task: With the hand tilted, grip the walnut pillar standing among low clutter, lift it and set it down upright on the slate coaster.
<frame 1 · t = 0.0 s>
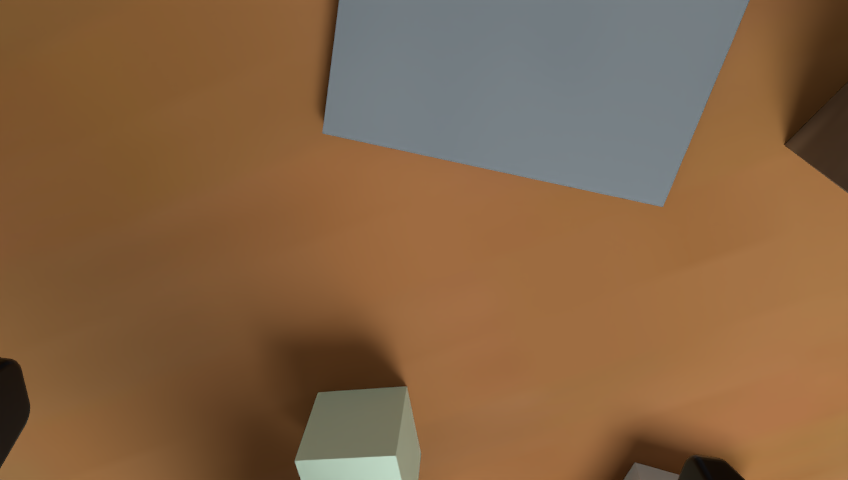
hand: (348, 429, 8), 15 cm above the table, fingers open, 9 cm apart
pale green cube: (370, 422, 28), on the table
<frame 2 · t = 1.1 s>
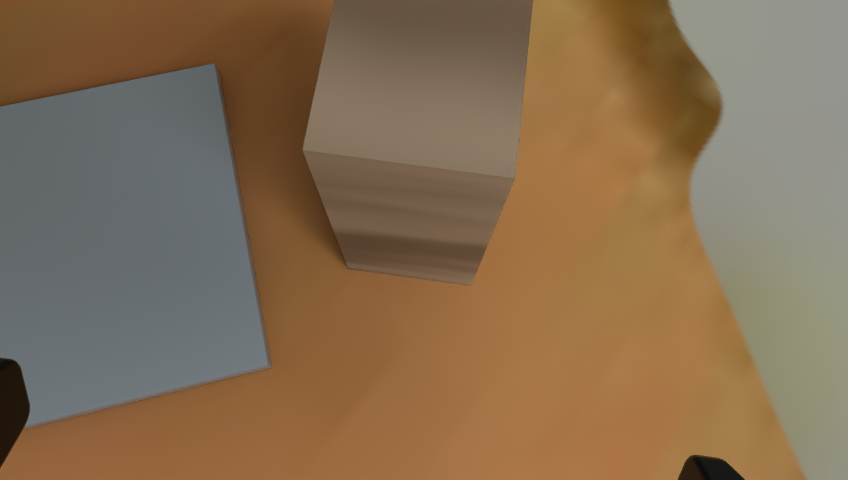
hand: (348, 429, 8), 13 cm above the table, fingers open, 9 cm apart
walnut pillar: (417, 219, 23), on the table
slate coaster: (79, 245, 23), on the table
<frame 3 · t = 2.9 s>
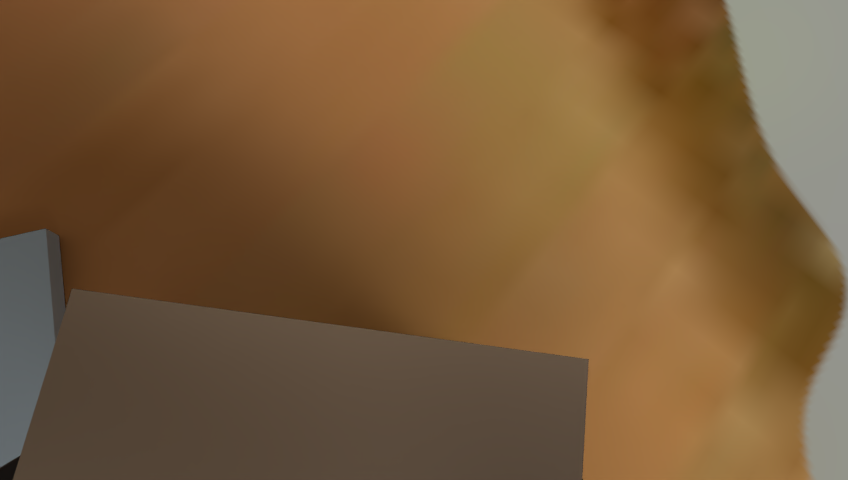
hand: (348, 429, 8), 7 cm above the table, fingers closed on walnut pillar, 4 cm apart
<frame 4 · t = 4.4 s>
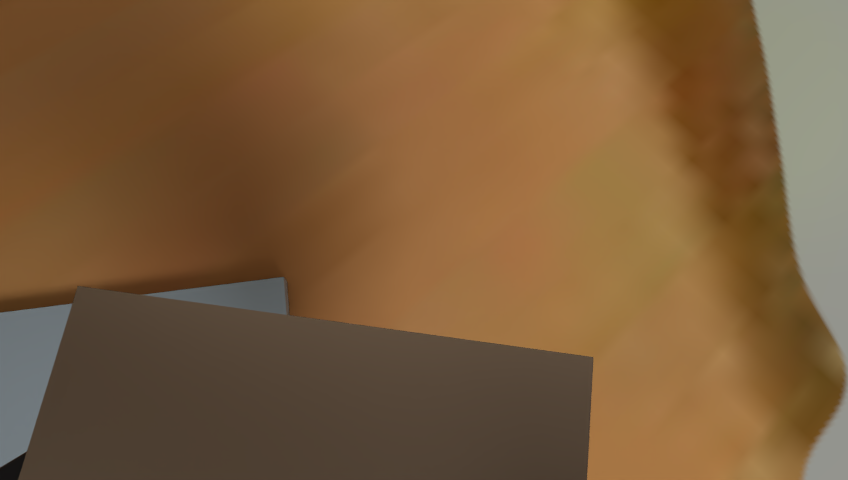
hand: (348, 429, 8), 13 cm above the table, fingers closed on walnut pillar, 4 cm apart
slate coaster: (117, 479, 20), on the table
when the fingers open (8 cm above the table, at t = 6.2 s): walnut pillar moves 1 cm, resting on slate coaster.
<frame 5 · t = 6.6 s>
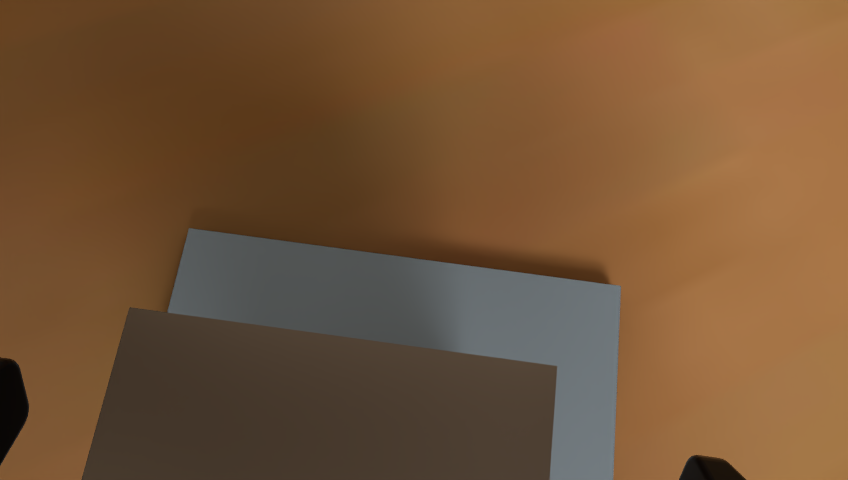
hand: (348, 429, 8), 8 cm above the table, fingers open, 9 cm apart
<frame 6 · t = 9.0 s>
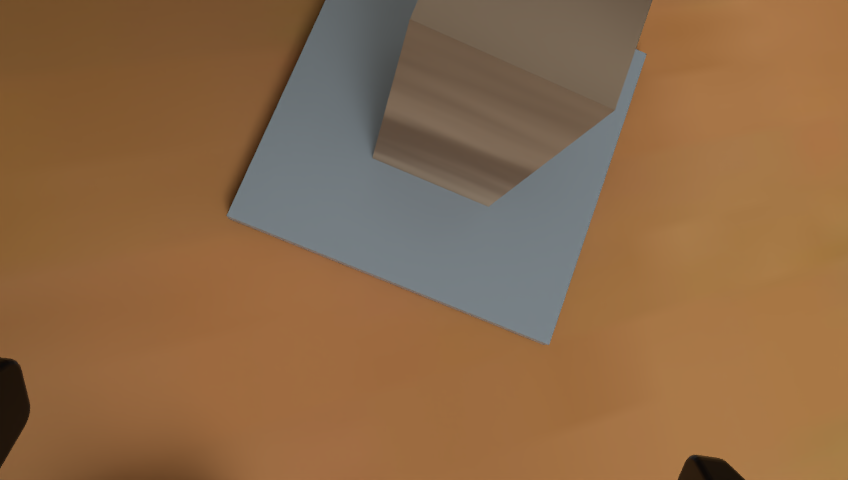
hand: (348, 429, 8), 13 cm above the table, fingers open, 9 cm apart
walnut pillar: (452, 127, 23), point 1 cm above the table, touching slate coaster
slate coaster: (449, 133, 23), on the table
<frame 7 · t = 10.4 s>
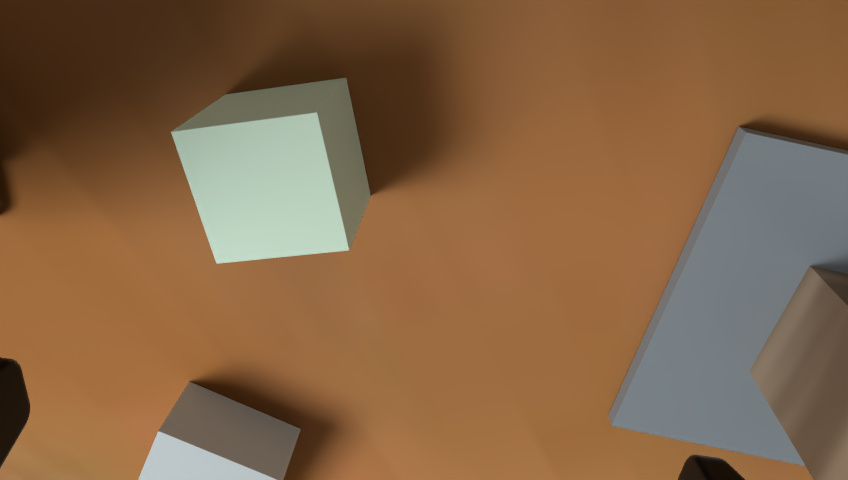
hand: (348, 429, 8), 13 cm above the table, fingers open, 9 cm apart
walnut pillar: (841, 334, 21), point 1 cm above the table, touching slate coaster
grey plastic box: (228, 439, 27), on the table
pale green cube: (300, 145, 21), on the table
slate coaster: (830, 324, 22), on the table
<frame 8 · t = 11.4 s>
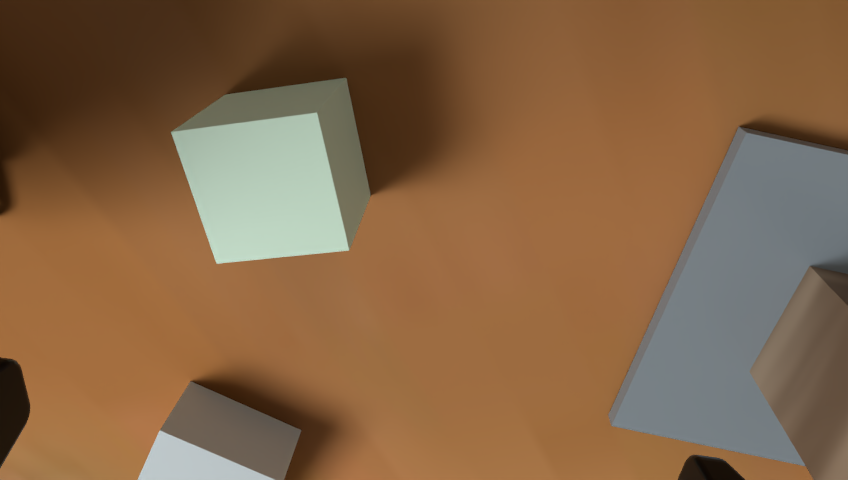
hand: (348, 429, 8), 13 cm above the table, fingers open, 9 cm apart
walnut pillar: (841, 334, 21), point 1 cm above the table, touching slate coaster
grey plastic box: (228, 439, 27), on the table
pale green cube: (300, 145, 21), on the table
slate coaster: (830, 324, 22), on the table
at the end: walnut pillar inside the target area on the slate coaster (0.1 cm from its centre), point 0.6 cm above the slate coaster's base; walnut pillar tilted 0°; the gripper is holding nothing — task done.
